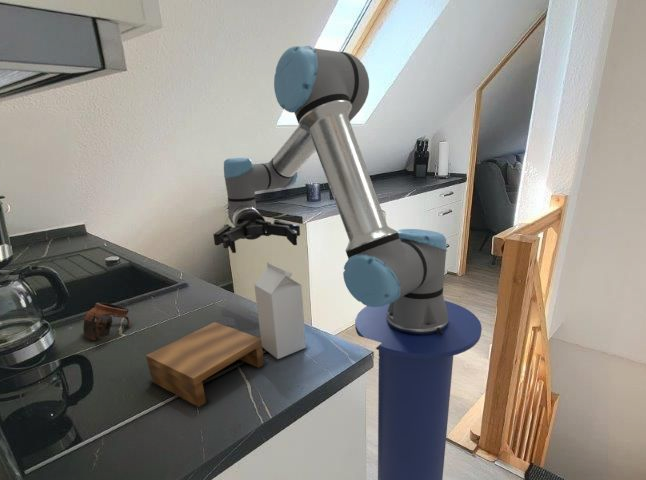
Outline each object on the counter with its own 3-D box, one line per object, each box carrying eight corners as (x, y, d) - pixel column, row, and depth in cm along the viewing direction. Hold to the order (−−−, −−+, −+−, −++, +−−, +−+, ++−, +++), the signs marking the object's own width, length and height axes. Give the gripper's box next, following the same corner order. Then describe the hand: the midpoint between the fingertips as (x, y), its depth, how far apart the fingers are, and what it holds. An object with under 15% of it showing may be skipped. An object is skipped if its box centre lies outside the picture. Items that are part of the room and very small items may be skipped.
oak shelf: (264, 364, 83) (261, 338, 81) (198, 407, 71) (192, 378, 68) (218, 345, 90) (214, 321, 88) (152, 382, 78) (145, 355, 76)
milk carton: (277, 360, 84) (269, 274, 77) (261, 347, 89) (251, 265, 82) (306, 348, 88) (300, 266, 81) (288, 336, 93) (282, 258, 86)
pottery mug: (81, 331, 99) (91, 299, 99) (124, 339, 103) (133, 308, 104) (76, 340, 88) (87, 304, 89) (124, 349, 93) (134, 314, 93)
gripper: (295, 231, 113) (319, 252, 95) (201, 242, 104) (208, 267, 86) (293, 204, 110) (318, 220, 92) (197, 213, 101) (203, 232, 83)
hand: (265, 243), depth 89 cm, fingers open, 13 cm apart
